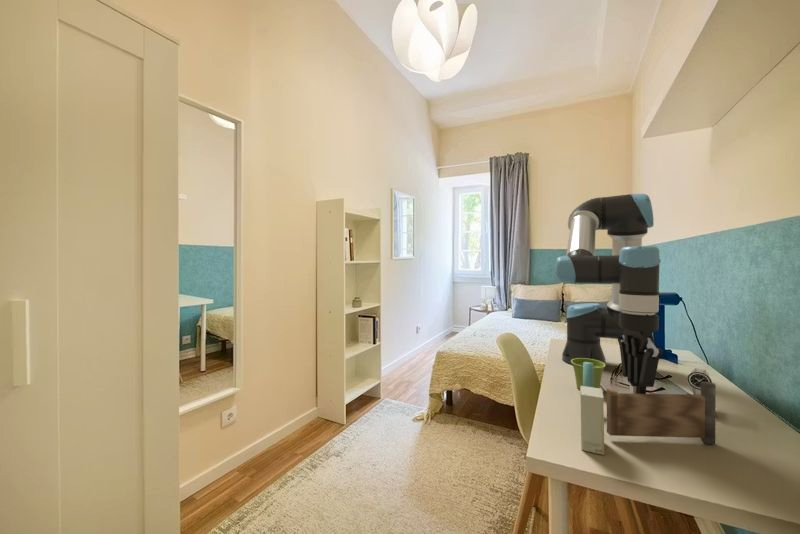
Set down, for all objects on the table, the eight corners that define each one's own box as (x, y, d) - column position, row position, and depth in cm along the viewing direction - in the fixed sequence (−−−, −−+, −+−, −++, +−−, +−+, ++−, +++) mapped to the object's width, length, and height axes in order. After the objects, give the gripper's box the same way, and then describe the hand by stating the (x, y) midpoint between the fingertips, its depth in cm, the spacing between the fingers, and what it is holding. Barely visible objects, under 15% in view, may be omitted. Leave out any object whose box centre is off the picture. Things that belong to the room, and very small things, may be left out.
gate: (708, 438, 73) (709, 381, 73) (718, 444, 70) (718, 385, 70) (605, 436, 74) (605, 380, 74) (611, 441, 72) (611, 384, 72)
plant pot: (604, 398, 95) (603, 369, 95) (568, 391, 101) (568, 363, 101) (606, 388, 103) (606, 361, 102) (573, 381, 108) (573, 356, 108)
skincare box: (604, 456, 67) (604, 398, 67) (580, 450, 69) (580, 394, 69) (602, 441, 73) (602, 388, 73) (580, 436, 75) (580, 384, 75)
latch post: (584, 407, 89) (584, 361, 89) (594, 410, 88) (594, 363, 87) (582, 411, 87) (582, 363, 87) (592, 413, 86) (592, 365, 86)
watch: (684, 411, 86) (685, 371, 86) (687, 402, 92) (687, 364, 92) (713, 418, 82) (714, 376, 82) (715, 408, 88) (715, 368, 88)
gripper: (676, 317, 68) (674, 426, 69) (638, 308, 81) (637, 400, 82) (638, 316, 69) (637, 425, 70) (606, 307, 82) (605, 399, 83)
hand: (637, 411), depth 76 cm, fingers closed
